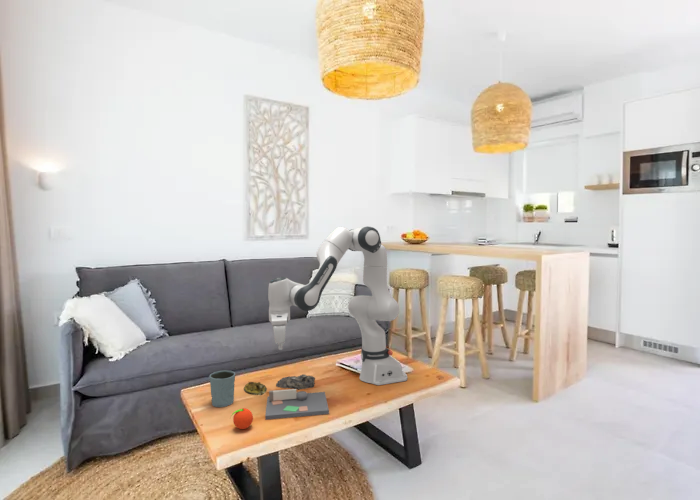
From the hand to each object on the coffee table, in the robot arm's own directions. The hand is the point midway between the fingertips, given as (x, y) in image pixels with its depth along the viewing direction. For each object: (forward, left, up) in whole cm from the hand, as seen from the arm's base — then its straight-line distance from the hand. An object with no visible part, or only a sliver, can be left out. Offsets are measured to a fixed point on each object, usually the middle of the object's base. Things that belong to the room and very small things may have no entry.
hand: (280, 348), depth 172 cm
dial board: (-6, +10, -21) cm, 24 cm away
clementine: (+14, +24, -21) cm, 35 cm away
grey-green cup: (+24, 0, -21) cm, 32 cm away
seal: (+12, -12, -22) cm, 27 cm away
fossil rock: (-7, -14, -22) cm, 27 cm away
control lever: (-3, +6, -19) cm, 20 cm away
